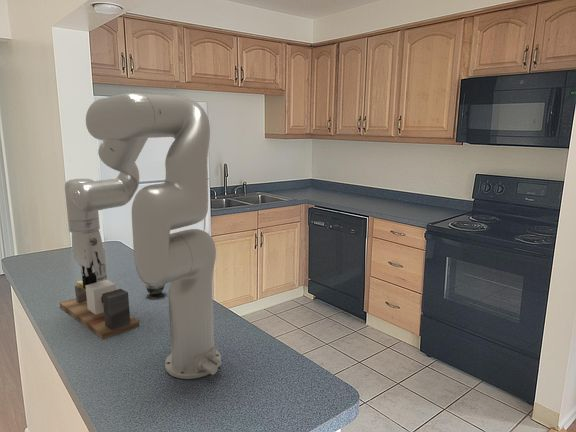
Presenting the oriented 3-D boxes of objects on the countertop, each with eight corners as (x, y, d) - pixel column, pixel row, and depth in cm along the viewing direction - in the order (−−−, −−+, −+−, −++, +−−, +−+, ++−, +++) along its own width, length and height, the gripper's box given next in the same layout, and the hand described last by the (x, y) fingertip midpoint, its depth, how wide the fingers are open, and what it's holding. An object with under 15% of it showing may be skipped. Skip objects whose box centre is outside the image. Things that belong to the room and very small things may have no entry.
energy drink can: (93, 294, 136) (89, 249, 132) (84, 289, 139) (80, 245, 136) (111, 288, 140) (107, 245, 137) (101, 284, 144) (97, 242, 141)
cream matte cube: (117, 307, 118) (115, 284, 116) (95, 314, 113) (93, 290, 112) (108, 302, 121) (106, 279, 119) (87, 309, 117) (85, 285, 115)
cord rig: (139, 326, 115) (136, 289, 112) (103, 339, 107) (99, 301, 105) (93, 297, 133) (90, 265, 131) (60, 307, 126) (56, 274, 123)
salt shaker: (159, 300, 131) (157, 263, 129) (142, 298, 132) (140, 262, 130) (168, 293, 137) (166, 258, 134) (152, 291, 138) (149, 256, 135)
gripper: (110, 227, 112) (115, 291, 116) (86, 218, 122) (92, 278, 126) (81, 232, 107) (88, 299, 111) (58, 222, 116) (65, 285, 120)
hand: (90, 288), depth 118 cm, fingers closed
